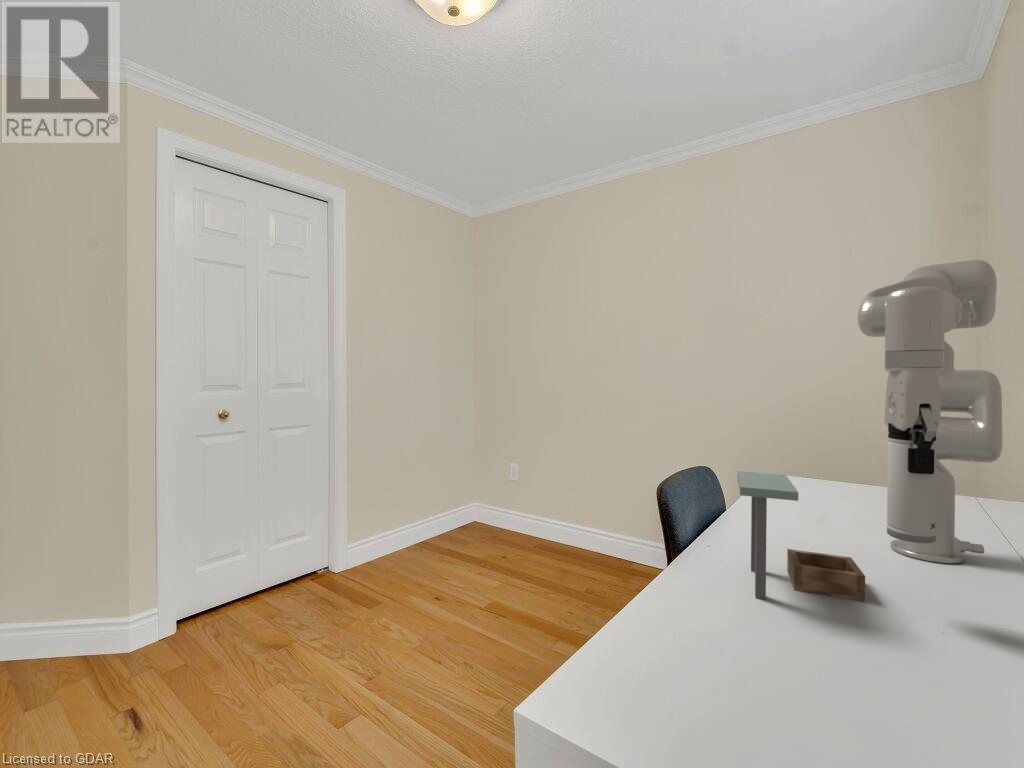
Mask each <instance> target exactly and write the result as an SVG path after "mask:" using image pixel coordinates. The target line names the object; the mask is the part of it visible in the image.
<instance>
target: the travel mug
mask: <svg viewBox="0 0 1024 768" xmlns="http://www.w3.org/2000/svg"><path fill="white" fill-rule="evenodd" d="M913 427H914V429H923V426H920V425H915V426H913ZM887 429H888V430H887V432H888V433H887V465H886V466H887V474H886V475H887V479H886V480H887V482H886V483H887V484H886V488H887V489H886V490H887V491H886V493H887V495H886V497H887V498H886V505H887V506H886V523H887V525H886V533H887V534H888V535H889V536H890V537H892V538H894V539H895V540H899V539H900V540H903V541H908V542H914V543H933V542H935V541H936V532H935V531H936V457H937V445H936V443H937V440H936V439H935V440H934V442H935V449H934V474H916V473H910V472H908V448H911V445H910V438H909V428H907V430H906V431H901V430H898V429H896V428H895V426H891V424H890V423H888V426H887ZM918 435H919V434H916V439H917V438H918ZM935 435H936V434H935ZM935 438H936V436H935Z"/></svg>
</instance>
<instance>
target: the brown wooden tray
mask: <svg viewBox="0 0 1024 768" xmlns="http://www.w3.org/2000/svg"><path fill="white" fill-rule="evenodd" d="M786 554H787V556H786V557H787V563H786V564H787V567H786V568H787V569H786V570H787V574H788V577H789V579H790V581H791V585H792V587H793V590H794V591H800V592H807V593H811V594H818V595H823V596H830V597H831V596H832V597H835V598H836V597H837V598H843V599H848V600H854V601H861V602H866V575H865V574H864V572H863V571H862V570H861V569H860V568H859V566H858V564H857V563H856V561H855V560H854V559H853V558H852V557H850V556H843V555H836V554H830V553H819V552H815V551H814V552H813V551H812V552H811V551H806V550H799V549H792V548H787V553H786Z"/></svg>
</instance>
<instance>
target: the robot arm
mask: <svg viewBox="0 0 1024 768" xmlns="http://www.w3.org/2000/svg"><path fill="white" fill-rule="evenodd" d="M997 283H998V282H997V275H996V272H995V270H994V268H993V266H992V265H991V264H990V263H989V262H987V261H985V260H982V259H971V260H962V261H955V262H946V263H939V264H938V263H937V264H931V265H926V266H921V267H918V268H915V269H914V270H912V271H910V272H909V273H907V274H906V276H905V277H904V278H903V280H902V281H899V282H896V283H894V284H890V285H886V286H883V287H880V288H876V289H874V290H872V291H870V292H868V293H867V294H866V295H865V297H864V298H863V300H862V301H861V303H860V305H859V308H858V312H857V324H858V328H859V330H860V331H861V333H862V334H864V335H866V336H867V337H873V338H874V337H875V338H878V337H880V338H882V337H884V372H888V377H887V382H886V391H885V405H884V424H885V425H886V426H887V427H888V423H890V424H891V426H895V428H896V429H898V430H901V431H906V430H907V428H909V438H910V445H911V448H908V472H910V473H916V474H934V449H935V442H934V440H935V439H936V440H937V443H936V445H937V457H936V531H935V532H936V541H935V542H933V543H914V542H908V541H903V540H900V539H894V540H891V541H890V548H891V549H892V550H893V551H894V552H897V553H899V554H901V555H904V556H908V557H911V558H914V559H917V560H923V561H927V562H932V563H938V564H939V563H942V564H959V563H963V562H964V561H965V555H964V554H965V553H966V552H970V553H973V554H984V553H985V547H984V545H983V544H979V543H971V541H967V540H960V539H959V538H957V537H956V536H955V534H956V533H955V529H956V528H955V527H956V526H955V524H956V523H955V521H956V518H955V517H956V481H955V478H954V475H953V474H952V473H951V471H950V470H948V468H947V467H946V466H944V464H942V463H941V462H940V460H944V461H945V460H949V461H951V460H952V461H960V462H961V461H962V462H971V463H992V462H996V461H997V460H998V459H999V458H1000V456H1001V455H1002V452H1003V439H1004V438H1003V398H1002V397H1003V395H1002V388H1001V382H1000V380H999V378H998V377H997V376H996V374H995V373H993V372H990V371H989V370H988V371H987V370H981V369H979V370H978V369H961V370H960V369H959V370H957V369H955V364H954V363H955V352H954V349H953V347H952V346H951V345H950V344H949V343H948V341H946V340H945V333H948V332H951V331H952V330H956V329H957V330H958V329H972V328H973V329H974V328H981V327H985V326H987V325H988V324H990V323H991V322H992V320H993V319H994V317H995V313H996V304H997V301H996V299H997V288H998V287H997V286H998V284H997ZM943 412H945V413H947V412H948V413H966V414H969V415H970V416H972V417H957V416H956V417H955V416H954V417H953V416H952V417H951V416H941V415H942V414H941V413H943ZM915 425H920V426H923V429H914V427H913V426H915ZM916 434H919V435H918V438H917V439H916ZM935 434H936V435H935ZM935 436H936V438H935Z"/></svg>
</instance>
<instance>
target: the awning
mask: <svg viewBox="0 0 1024 768" xmlns="http://www.w3.org/2000/svg"><path fill="white" fill-rule="evenodd" d="M736 472H737V473H736V478H737V484H738V491H739V495H740V496H743V497H751V507H750V508H751V509H750V511H751V512H750V515H751V517H750V518H751V520H750V522H751V523H750V529H751V530H750V532H751V533H750V572H752V571H754V572H753V573H754V576H755V577H754V579H755V580H754V598H756V599H761V600H765V601H766V599H767V587H766V585H767V517H768V515H767V507H768V506H767V505H768V504H767V503H768V502H767V501H768V500H767V499H774V500H775V499H776V500H787V501H796V502H797V501H798V502H799V491H798V489H797V488H796V487H795V486H794V484H793V482H792V481H791V480H790V478H789V477H788V476H787V474H778V473H766V472H753V471H752V472H751V471H741V470H738V471H736Z"/></svg>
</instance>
